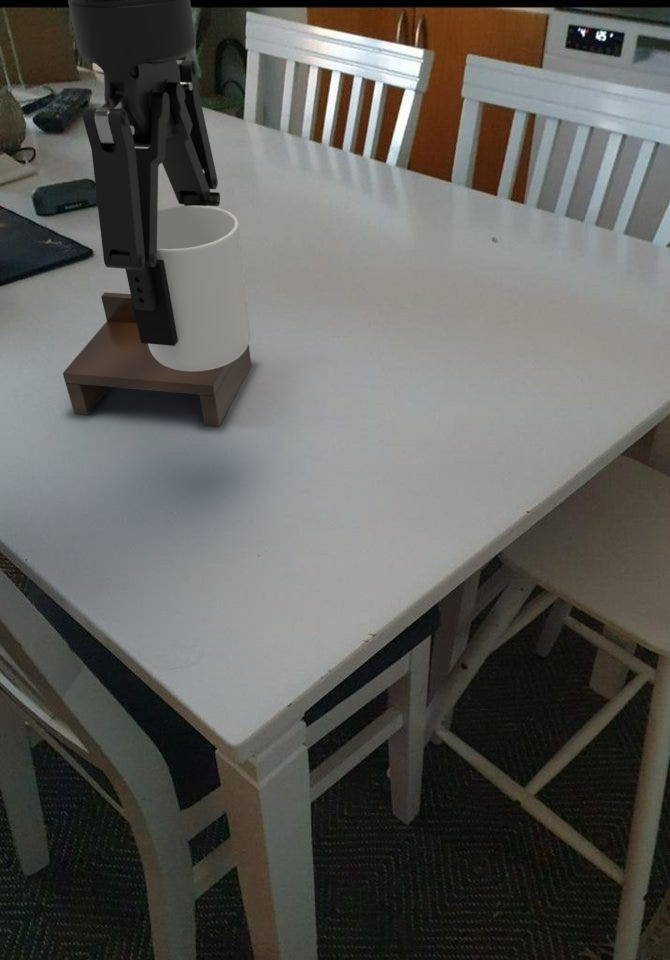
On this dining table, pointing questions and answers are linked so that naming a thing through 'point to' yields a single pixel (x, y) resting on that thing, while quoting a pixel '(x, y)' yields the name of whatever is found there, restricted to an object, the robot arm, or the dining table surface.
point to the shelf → (144, 367)
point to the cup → (203, 287)
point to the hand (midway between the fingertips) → (182, 312)
